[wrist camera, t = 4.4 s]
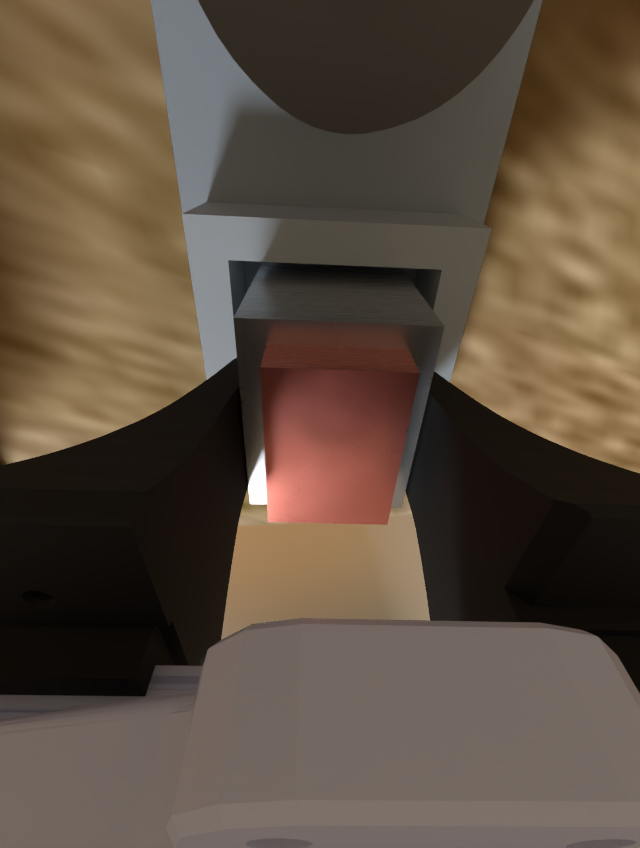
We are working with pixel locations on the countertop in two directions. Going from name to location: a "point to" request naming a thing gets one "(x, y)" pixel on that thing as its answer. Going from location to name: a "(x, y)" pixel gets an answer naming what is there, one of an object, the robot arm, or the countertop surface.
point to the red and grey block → (333, 388)
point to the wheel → (363, 54)
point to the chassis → (328, 182)
